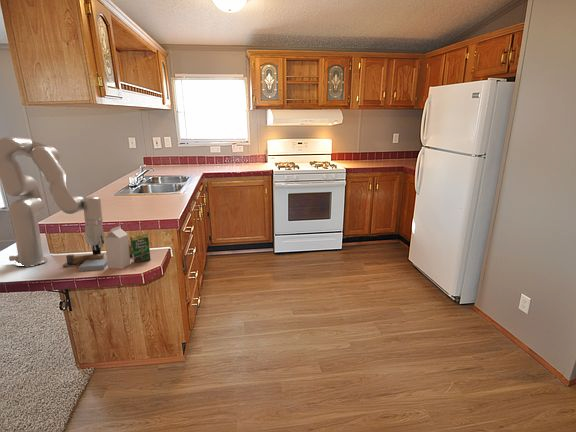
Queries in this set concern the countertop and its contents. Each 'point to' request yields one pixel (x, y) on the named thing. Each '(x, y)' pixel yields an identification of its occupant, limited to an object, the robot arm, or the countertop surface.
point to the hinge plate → (70, 264)
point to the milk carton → (117, 248)
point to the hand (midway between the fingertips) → (97, 257)
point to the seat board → (93, 265)
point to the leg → (83, 258)
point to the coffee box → (140, 248)
